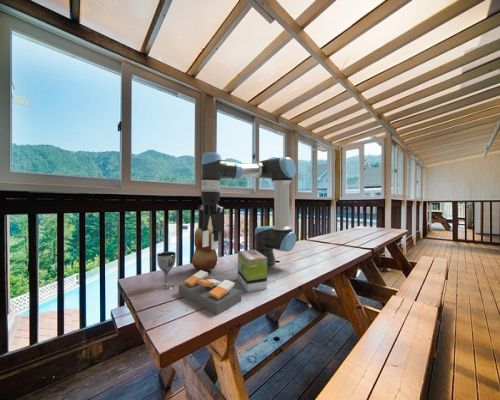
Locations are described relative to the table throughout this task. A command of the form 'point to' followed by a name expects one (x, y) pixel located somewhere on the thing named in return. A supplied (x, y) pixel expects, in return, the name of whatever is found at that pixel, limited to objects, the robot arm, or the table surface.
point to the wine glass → (166, 267)
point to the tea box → (252, 270)
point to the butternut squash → (203, 253)
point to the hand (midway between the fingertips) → (209, 247)
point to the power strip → (210, 297)
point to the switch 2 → (221, 289)
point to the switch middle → (209, 282)
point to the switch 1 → (196, 278)
